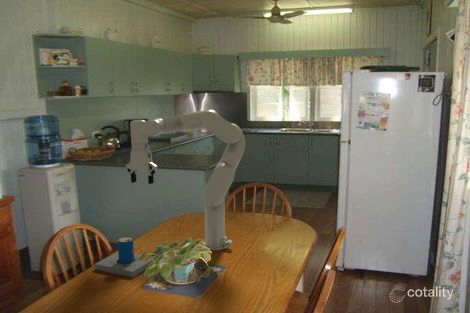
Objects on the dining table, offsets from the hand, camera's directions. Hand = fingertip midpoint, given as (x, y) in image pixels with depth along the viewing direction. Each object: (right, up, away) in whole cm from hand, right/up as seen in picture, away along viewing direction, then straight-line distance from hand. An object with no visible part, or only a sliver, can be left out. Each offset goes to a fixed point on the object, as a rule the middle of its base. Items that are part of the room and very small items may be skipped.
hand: (142, 182), depth 198 cm
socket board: (-3, -35, -17) cm, 39 cm away
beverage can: (-3, -35, -17) cm, 39 cm away
